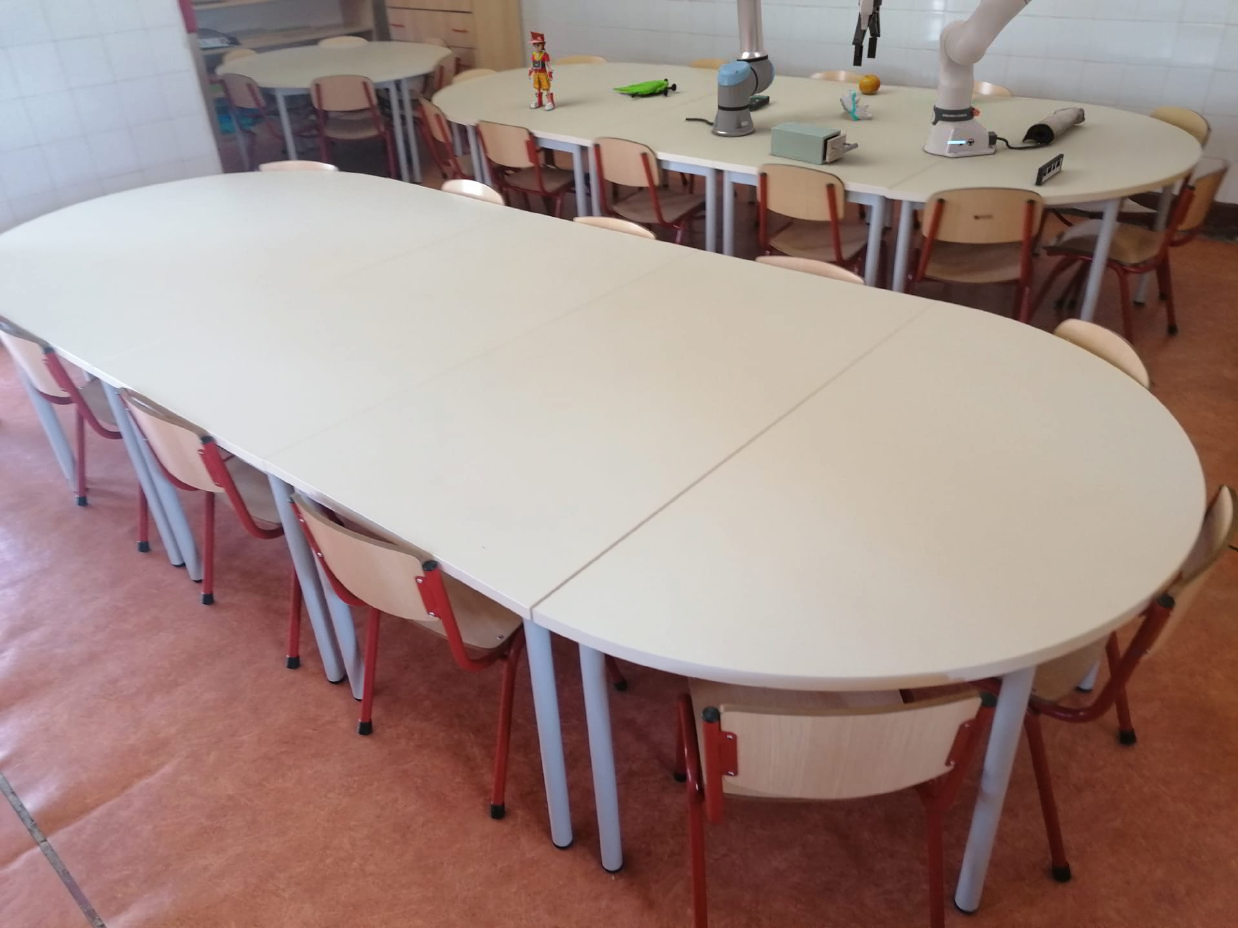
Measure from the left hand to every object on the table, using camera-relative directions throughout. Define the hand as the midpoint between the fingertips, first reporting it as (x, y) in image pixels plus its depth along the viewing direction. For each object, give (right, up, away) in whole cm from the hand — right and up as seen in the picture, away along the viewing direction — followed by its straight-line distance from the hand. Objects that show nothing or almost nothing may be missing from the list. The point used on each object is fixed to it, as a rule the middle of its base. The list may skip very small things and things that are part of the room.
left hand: (864, 62), depth 307 cm
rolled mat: (+67, -23, +5) cm, 71 cm away
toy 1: (-117, +14, +76) cm, 140 cm away
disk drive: (-30, +8, +59) cm, 67 cm away
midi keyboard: (+48, -50, -32) cm, 76 cm away
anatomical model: (+6, -4, +38) cm, 39 cm away
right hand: (-7, 0, -26) cm, 27 cm away
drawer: (-17, -34, -5) cm, 38 cm away
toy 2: (-75, +27, +90) cm, 120 cm away
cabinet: (-21, -32, 0) cm, 38 cm away
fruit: (+20, +17, +66) cm, 71 cm away
